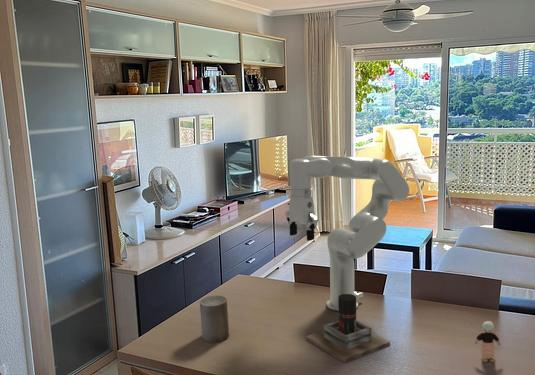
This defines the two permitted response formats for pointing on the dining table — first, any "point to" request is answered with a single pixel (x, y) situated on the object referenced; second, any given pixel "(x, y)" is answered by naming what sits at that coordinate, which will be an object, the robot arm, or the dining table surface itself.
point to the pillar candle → (214, 318)
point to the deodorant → (347, 313)
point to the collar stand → (347, 341)
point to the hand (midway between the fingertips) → (301, 237)
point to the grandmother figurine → (488, 342)
